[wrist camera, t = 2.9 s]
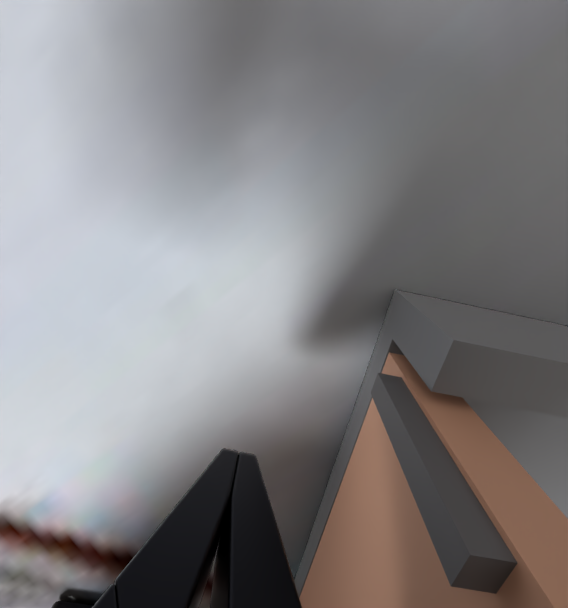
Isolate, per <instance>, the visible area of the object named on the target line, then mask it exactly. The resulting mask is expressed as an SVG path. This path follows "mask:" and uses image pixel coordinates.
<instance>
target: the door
mask: <svg viewBox="0 0 568 608" xmlns="http://www.w3.org/2000/svg"><path fill="white" fill-rule="evenodd" d="M371 395H372V400H371V403H370V406H369V409H368V411H367V414H366V417H365V419H364V422H363V425H362V428H361V430H360V433H359V436H358V439H357V441H356V444H355V447H354V450H353V452H352V455H351V458H350V461H349V463H348V466H347V469H346V472H345V474H344V477H343V480H342V483H341V485H340V488H339V491H338V494H337V496H336V499H335V502H334V504H333V507H332V510H331V513H330V515H329V518H328V521H327V524H326V526H325V529H324V532H323V535H322V537H321V540H320V543H319V546H318V548H317V551H316V554H315V557H314V559H313V562H312V565H311V568H310V570H309V573H308V576H307V579H306V581H305V584H304V587H303V590H302V592H301V595H300V598H299V599H300V602H301V606H302V608H568V519H567V517H566V516H565V515H564V514H563V513H562V512H561V510H560V509H559V508H558V507H557V506H556V505H555V504H554V502H553V501H552V500H551V499H550V498H549V497H548V496H547V494H546V493H545V492H544V491H543V490H542V489H541V487H540V486H539V485H538V484H537V483H536V482H535V481H534V479H533V478H532V477H531V476H530V475H529V474H528V473H527V471H526V470H525V469H524V468H523V467H522V466H521V464H520V463H519V462H518V461H517V460H516V459H515V458H514V456H513V455H512V454H511V453H510V452H509V451H508V450H507V448H506V447H505V446H504V445H503V444H502V443H501V442H500V440H499V439H498V438H497V437H496V436H495V435H494V433H493V432H492V431H491V430H490V429H489V428H488V427H487V425H486V424H485V423H484V422H483V421H482V420H481V419H480V417H479V416H478V415H477V414H476V413H475V412H474V410H473V409H472V408H471V407H470V406H469V405H468V404H467V402H466V401H465V400H464V399H463V398H462V397H457V396H452V395H447V394H442V393H436V392H431V391H430V389H429V388H428V387H427V385H426V384H425V382H424V381H423V380H422V378H421V377H420V376H419V374H418V373H417V372H416V370H415V369H414V367H413V366H412V365H411V363H410V362H409V361H408V359H407V358H406V357H405V356H404V355H399V354H395V353H390V352H389V354H388V356H387V359H386V362H385V365H384V367H383V370H382V373H378V374H377V377H376V379H375V382H374V385H373V388H372V390H371Z"/></svg>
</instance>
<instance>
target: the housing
mask: <svg viewBox="0 0 568 608" xmlns="http://www.w3.org/2000/svg"><path fill="white" fill-rule="evenodd" d="M389 352H390V353H395V354H399V355H404V356H405V357H406V358H407V359H408V361H409V362H410V363H411V365H412V366H413V367H414V369H415V370H416V372H417V373H418V374H419V376H420V377H421V378H422V380H423V381H424V382H425V384H426V385H427V387H428V388H429V389H430V391H431V392H436V393H442V394H447V395H452V396H457V397H462V398H463V399H464V400H465V401H466V402H467V404H468V405H469V406H470V407H471V408H472V409H473V410H474V412H475V413H476V414H477V415H478V416H479V417H480V419H481V420H482V421H483V422H484V423H485V424H486V425H487V427H488V428H489V429H490V430H491V431H492V432H493V433H494V435H495V436H496V437H497V438H498V439H499V440H500V442H501V443H502V444H503V445H504V446H505V447H506V448H507V450H508V451H509V452H510V453H511V454H512V455H513V456H514V458H515V459H516V460H517V461H518V462H519V463H520V464H521V466H522V467H523V468H524V469H525V470H526V471H527V473H528V474H529V475H530V476H531V477H532V478H533V479H534V481H535V482H536V483H537V484H538V485H539V486H540V487H541V489H542V490H543V491H544V492H545V493H546V494H547V496H548V497H549V498H550V499H551V500H552V501H553V502H554V504H555V505H556V506H557V507H558V508H559V509H560V510H561V512H562V513H563V514H564V515H565V516H566V517H567V519H568V326H565V325H560V324H555V323H551V322H546V321H541V320H536V319H532V318H527V317H522V316H518V315H513V314H508V313H504V312H499V311H494V310H489V309H485V308H480V307H475V306H471V305H466V304H461V303H456V302H452V301H447V300H442V299H438V298H433V297H428V296H423V295H419V294H414V293H409V292H405V291H400V290H394V293H393V296H392V299H391V301H390V304H389V307H388V310H387V313H386V316H385V319H384V322H383V325H382V328H381V330H380V333H379V336H378V339H377V342H376V345H375V348H374V351H373V354H372V357H371V359H370V362H369V365H368V368H367V371H366V374H365V377H364V380H363V383H362V386H361V388H360V391H359V394H358V397H357V400H356V403H355V406H354V409H353V412H352V415H351V417H350V420H349V423H348V426H347V429H346V432H345V435H344V438H343V441H342V443H341V446H340V449H339V452H338V455H337V458H336V461H335V464H334V467H333V470H332V472H331V475H330V478H329V481H328V484H327V487H326V490H325V493H324V496H323V499H322V501H321V504H320V507H319V510H318V513H317V516H316V519H315V522H314V525H313V528H312V530H311V533H310V536H309V539H308V542H307V545H306V548H305V551H304V554H303V557H302V559H301V562H300V565H299V568H298V571H297V574H296V577H295V580H294V583H295V586H296V589H297V592H298V596H299V598H300V595H301V592H302V590H303V587H304V584H305V581H306V579H307V576H308V573H309V570H310V568H311V565H312V562H313V559H314V557H315V554H316V551H317V548H318V546H319V543H320V540H321V537H322V535H323V532H324V529H325V526H326V524H327V521H328V518H329V515H330V513H331V510H332V507H333V504H334V502H335V499H336V496H337V494H338V491H339V488H340V485H341V483H342V480H343V477H344V474H345V472H346V469H347V466H348V463H349V461H350V458H351V455H352V452H353V450H354V447H355V444H356V441H357V439H358V436H359V433H360V430H361V428H362V425H363V422H364V419H365V417H366V414H367V411H368V409H369V406H370V403H371V400H372V395H371V390H372V388H373V385H374V382H375V379H376V377H377V374H378V373H382V370H383V367H384V365H385V362H386V359H387V356H388V354H389Z"/></svg>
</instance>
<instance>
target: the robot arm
mask: <svg viewBox="0 0 568 608" xmlns="http://www.w3.org/2000/svg"><path fill="white" fill-rule="evenodd" d="M218 543H219V544H218ZM217 547H218V549H217ZM216 551H217V554H216ZM215 555H216V561H215V568H214V577H213V585H212V594H211V603H210V608H302V606H301V602H300V599H299V596H298V592H297V589H296V586H295V583H294V579H293V576H292V573H291V569H290V566H289V563H288V560H287V556H286V553H285V550H284V546H283V543H282V540H281V537H280V533H279V530H278V527H277V523H276V520H275V517H274V514H273V510H272V507H271V504H270V500H269V497H268V494H267V491H266V487H265V484H264V481H263V477H262V474H261V471H260V468H259V464H258V461H257V458H256V456H255V455H254V454H250V453H245V452H240V453H238V451H235V450H231V449H226V448H224V449H222V450H221V451H220V452H219V454H218V455H217V456H216V457H215V459H214V460H213V461H212V462H211V463H210V465H209V466H208V467H207V468H206V469H205V471H204V472H203V473H202V474H201V476H200V477H199V478H198V479H197V480H196V482H195V483H194V484H193V485H192V487H191V488H190V489H189V490H188V491H187V493H186V494H185V495H184V496H183V498H182V499H181V500H180V501H179V502H178V504H177V505H176V506H175V507H174V509H173V510H172V511H171V512H170V513H169V515H168V516H167V517H166V518H165V520H164V521H163V522H162V523H161V524H160V526H159V527H158V528H157V529H156V531H155V532H154V533H153V534H152V535H151V537H150V538H149V539H148V540H147V542H146V543H145V544H144V545H143V546H142V548H141V549H140V550H139V551H138V553H137V554H136V555H135V556H134V557H133V559H132V560H131V561H130V562H129V563H128V565H127V566H126V567H125V568H124V570H123V571H122V572H121V573H120V574H119V576H118V577H117V578H116V579H115V584H111V585H110V586H109V588H108V589H107V590H106V591H105V592H104V594H103V595H102V596H101V597H100V599H99V600H98V601H97V602H96V603H95V605H94V606H92V605H86V604H79V603H72V602H66V601H58V602H56V603H54V605H53V606H52V608H199V605H200V602H201V599H202V596H203V593H204V590H205V587H206V584H207V581H208V577H209V574H210V571H211V568H212V565H213V561H214V558H215Z"/></svg>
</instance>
